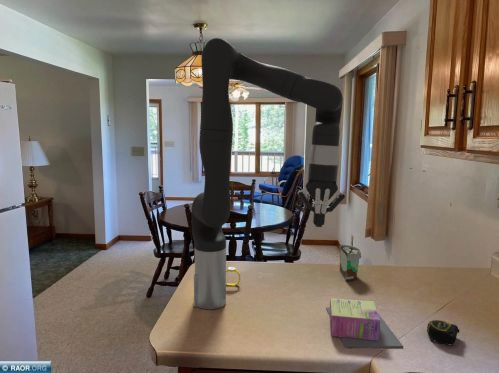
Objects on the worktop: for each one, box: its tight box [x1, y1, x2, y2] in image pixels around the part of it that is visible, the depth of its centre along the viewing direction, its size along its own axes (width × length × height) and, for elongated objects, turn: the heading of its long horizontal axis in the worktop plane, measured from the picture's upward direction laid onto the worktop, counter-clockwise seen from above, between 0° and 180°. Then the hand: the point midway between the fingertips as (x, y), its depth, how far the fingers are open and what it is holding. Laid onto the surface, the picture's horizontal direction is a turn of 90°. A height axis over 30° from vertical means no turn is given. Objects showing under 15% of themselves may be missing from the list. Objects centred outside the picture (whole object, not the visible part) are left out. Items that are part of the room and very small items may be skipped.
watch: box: [226, 266, 241, 287], centre depth 125 cm, size 6×3×6 cm, turn 91°
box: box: [328, 297, 380, 341], centre depth 97 cm, size 10×6×12 cm
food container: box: [339, 244, 362, 282], centre depth 134 cm, size 12×6×10 cm, turn 179°
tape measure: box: [426, 319, 460, 346], centre depth 94 cm, size 7×7×4 cm
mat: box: [325, 306, 404, 349], centre depth 100 cm, size 14×20×1 cm
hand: (318, 226), depth 101 cm, fingers closed
